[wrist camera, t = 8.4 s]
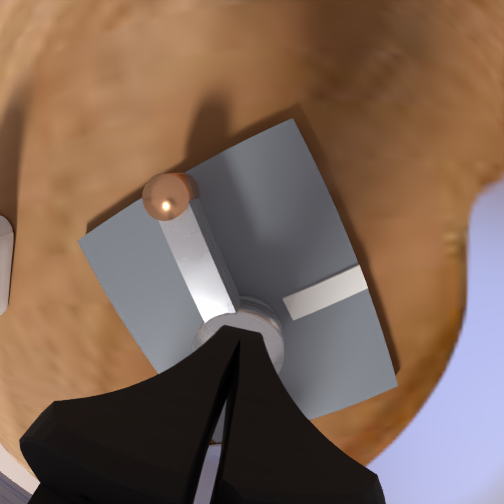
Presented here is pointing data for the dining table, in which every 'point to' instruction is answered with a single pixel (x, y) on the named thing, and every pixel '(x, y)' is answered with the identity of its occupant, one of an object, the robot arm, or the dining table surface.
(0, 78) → the dining table surface
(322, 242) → the lock plate
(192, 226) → the lever with ball knob
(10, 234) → the photo printer
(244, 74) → the dining table surface
